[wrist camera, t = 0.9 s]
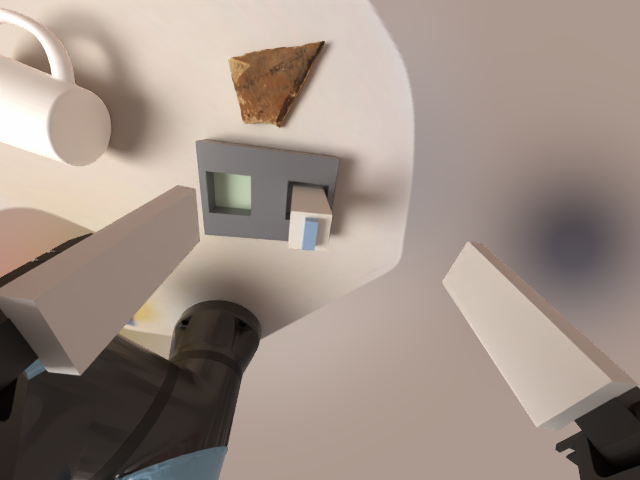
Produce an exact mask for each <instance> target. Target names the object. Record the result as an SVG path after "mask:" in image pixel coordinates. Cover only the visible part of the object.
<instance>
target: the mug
mask: <svg viewBox="0 0 640 480" xmlns="http://www.w3.org/2000/svg"><path fill="white" fill-rule="evenodd" d="M0 24H13V25H17V26H20V27H23V28H25V29H27V30H29V31H30V32H32V33H33V34H34V35H35V36H36V37H37V38H38V39H39V41H40V42H41V44H42V45H43V47H44V49H45V51H46V54H47V56H48V59H49V63H50V67H51V72H52V75H50V74H48V73H45V72H43V71H40V70H38V69H35V68H33V67H30V66H28V65H25V64H23V63H20V62H18V61H16V60H13V59H11V58H8V57H6V56H3V55H1V54H0V142H2V143H5V144H8V145H11V146H14V147H17V148H20V149H23V150H26V151H30V152H33V153H36V154H39V155H42V156H45V157H48V158H51V159H54V160H57V161H60V162H63V163H66V164H69V165H72V166H85V165H89V164H91V163H93V162H95V161H96V160H97V159H99V158H100V157H101V155H102V154H103V153H104V152H105V150H106V148H107V146H108V144H109V141H110V137H111V119H110V115H109V112H108V110H107V108H106V106H105V104H104V103H103V101H102V100H101V99H100V98H99V97H98V96H97V95H96V94H94V93H93V92H91V91H89V90H87V89H84V88H82V87H80V86H78V85H76V83H75V78H74V72H73V67H72V64H71V61H70V58H69V55H68V53H67V51H66V49H65V48H64V46H63V45H62V43H61V42H60V41H59V39H58V38H57V37H56V36H55V35H54V34H53V33H52V32H51V31H50V30H49V29H47V28H46V27H45V26H43V25H42V24H40V23H39V22H37V21H35V20H34V19H32V18H30V17H28V16H25V15H23V14H20V13H18V12H15V11H11V10H8V9H3V8H0Z"/></svg>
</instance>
